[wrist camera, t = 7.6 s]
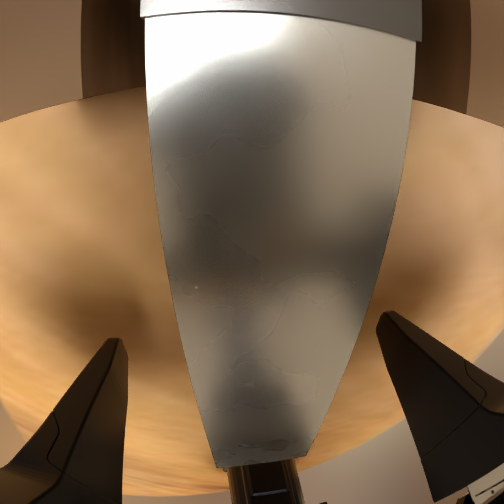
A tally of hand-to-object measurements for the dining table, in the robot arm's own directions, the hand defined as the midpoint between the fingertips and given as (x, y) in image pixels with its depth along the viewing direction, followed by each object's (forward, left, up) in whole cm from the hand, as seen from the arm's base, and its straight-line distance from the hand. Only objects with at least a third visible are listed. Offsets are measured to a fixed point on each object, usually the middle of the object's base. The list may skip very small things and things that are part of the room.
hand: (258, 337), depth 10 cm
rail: (+2, 0, -3) cm, 3 cm away
